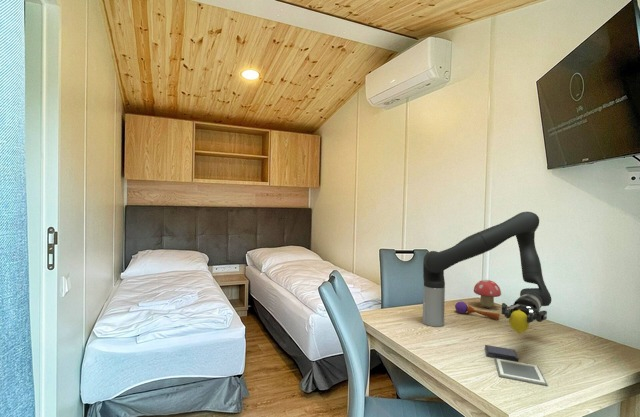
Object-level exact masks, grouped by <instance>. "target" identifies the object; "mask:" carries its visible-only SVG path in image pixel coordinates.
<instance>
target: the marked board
mask: <svg viewBox="0 0 640 417" xmlns="http://www.w3.org/2000/svg"><path fill="white" fill-rule="evenodd" d="M494 362H495V366H496V371H497V374H498V377H499V378H502V379H508V380H512V381H519V382H524V383H529V384H535V385H540V386H545V387H549V384H548V383H547V381H546V379H545V377H544V374H543V373H542V371H541V368H540V367H539V365H536V364H532V363H531V364H530V363H525V362H520V361H519V362H515V361H509V360H504V359H498V358H494Z"/></svg>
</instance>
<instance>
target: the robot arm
mask: <svg viewBox="0 0 640 417" xmlns="http://www.w3.org/2000/svg"><path fill="white" fill-rule="evenodd" d="M539 225H540V217H539V216H538V215H537V214H536V213H534V212H532V211H522V212H519V213H518V214H515V215H514V216H512V217H510V218H508V219H506V220H505V221H503V222H500V223H498V224H496V225H493V226H491V227H488V228H485V229H483V230H480V231H478V232H475V233H473V234H471V235H468V236H467V237H465V238H463V239H462V240H460V241H459V242H458V243H455V245H453V246H452V247H449V248H447V249H444V250H443V249H442V250H440V251H436V250H432V251H427V252H426V254H424V256H423V263H422V264H423V266H422V267H423V270H422V272H423V274H422V275H423V302H422V324H424V325H426V326H430V327H431V326H432V327H443V326H445V302H446V301H445V296H446V294H445V293H446V292H445V291H446V289H445V288H446V282H445V273H444V272H445V270H447V269H449V268H451V267H452V266H453V267H454V266H455V265H456V264H458V263H461V262H463V261H466V260H469V259H471V258H475V257H477V256H479V255H483V254H485V253H487V252H490V251H491V250H493V249H495V248H496V247H499V245H501V244H503V243H504V242H506V241H507V240H509V239H511V238H512V237H515V238H516V241H517V245H518V249H519V255H520V257H519V258H520V266H521V267H520V268H521V275H522V280H523V281H524V283H527V284H534V285H537V288H536V287H535V288H534V287H531V288H530V287H528V288H527V287H526V288H523V289H521V290H520V293H519V297H518V298H517V299H516V300H515V301H514V303H513V304H511V305H508V304H506V303H505V302H502V303H501V314H502V315H503V316H504V318H506V319H507V320H508V319H509V320H510V315H511V314H512V312H514V311H517V310H521V311H522V312H524V313H525V314H526V315H527V323H529V324H530V323H533V322H535V321H536V322H538V323H541V322H543V321H545V320H547V319H548V311H547V310H541V308H542V307H549V306H550V305H551V304H552V295H551V293H550V292H549V289H548V288H547V285H546V283H545V280H544V276H543V270H542V264H541V263H542V262H541V260H540V257H539V254H538V251H537V248H536V242H535V234H536V231H537V229H538V228H539Z"/></svg>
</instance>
